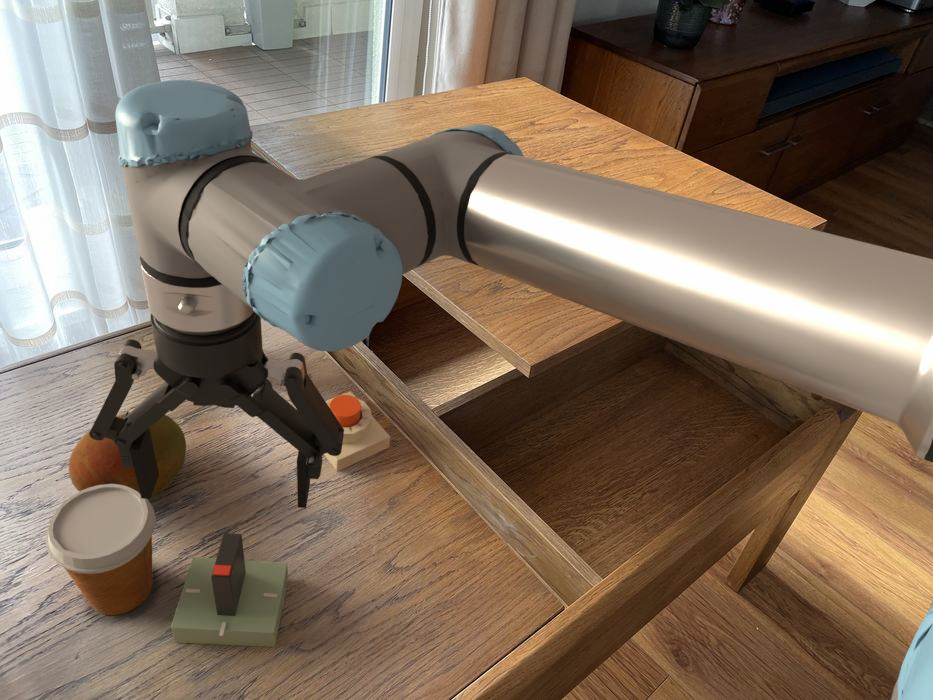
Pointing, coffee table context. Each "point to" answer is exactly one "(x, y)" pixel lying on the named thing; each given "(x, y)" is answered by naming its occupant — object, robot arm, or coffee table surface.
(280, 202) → the robot arm
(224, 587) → the dial knob
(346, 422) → the switch button
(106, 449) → the fruit
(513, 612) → the coffee table surface
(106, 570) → the disposable coffee cup
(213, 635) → the dial base
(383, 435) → the switch base
